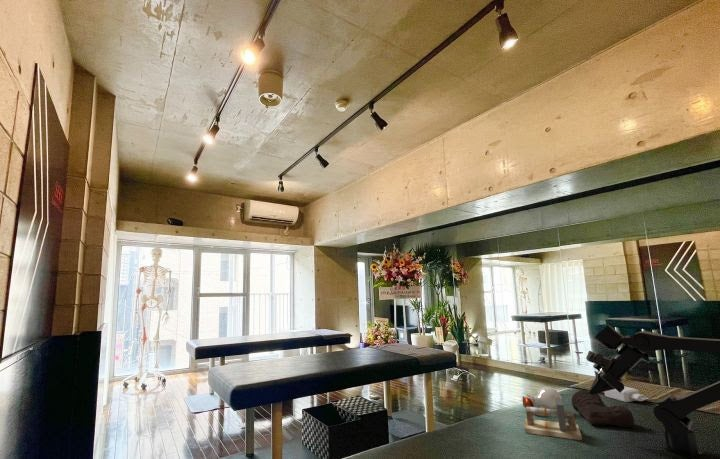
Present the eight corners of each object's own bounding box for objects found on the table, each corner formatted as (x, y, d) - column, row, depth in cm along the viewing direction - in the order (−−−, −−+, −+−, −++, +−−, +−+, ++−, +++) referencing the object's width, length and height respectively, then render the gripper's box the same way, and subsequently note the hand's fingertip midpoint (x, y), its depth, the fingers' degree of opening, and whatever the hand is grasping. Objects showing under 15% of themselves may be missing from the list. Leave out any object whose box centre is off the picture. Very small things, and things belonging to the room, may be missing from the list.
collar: (564, 422, 122) (561, 398, 124) (566, 430, 115) (563, 405, 117) (558, 421, 123) (555, 398, 125) (560, 429, 116) (556, 404, 118)
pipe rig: (578, 429, 121) (575, 407, 123) (581, 440, 112) (578, 416, 114) (525, 422, 129) (523, 401, 130) (525, 432, 120) (522, 410, 121)
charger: (640, 406, 142) (605, 397, 156) (655, 403, 145) (619, 394, 159) (638, 394, 143) (603, 386, 157) (653, 392, 146) (617, 383, 160)
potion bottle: (565, 414, 140) (532, 422, 137) (549, 394, 148) (518, 401, 146) (570, 399, 136) (536, 406, 133) (553, 379, 144) (521, 386, 142)
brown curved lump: (633, 407, 120) (610, 388, 134) (586, 409, 122) (569, 390, 137) (637, 435, 119) (614, 413, 134) (590, 436, 122) (573, 414, 137)
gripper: (595, 339, 126) (565, 369, 129) (605, 347, 110) (570, 380, 113) (625, 363, 122) (594, 393, 124) (640, 374, 105) (603, 409, 108)
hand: (589, 393), depth 117 cm, fingers closed
